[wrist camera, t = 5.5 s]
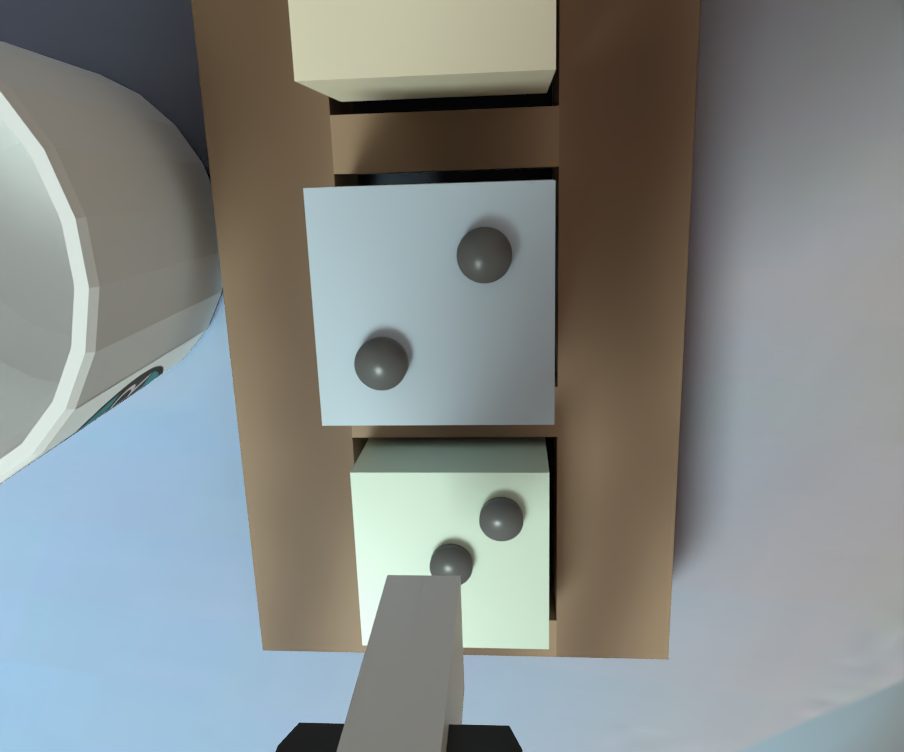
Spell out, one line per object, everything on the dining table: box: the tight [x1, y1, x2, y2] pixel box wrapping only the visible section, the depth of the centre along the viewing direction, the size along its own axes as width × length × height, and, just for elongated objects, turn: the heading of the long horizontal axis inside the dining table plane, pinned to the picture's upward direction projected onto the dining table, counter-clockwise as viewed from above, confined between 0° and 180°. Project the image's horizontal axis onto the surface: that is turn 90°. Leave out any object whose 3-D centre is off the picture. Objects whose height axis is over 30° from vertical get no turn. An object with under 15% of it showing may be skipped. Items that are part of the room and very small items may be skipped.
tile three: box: [350, 437, 549, 649], centre depth 21 cm, size 5×5×4 cm
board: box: [191, 0, 701, 659], centre depth 21 cm, size 12×22×3 cm, turn 2°
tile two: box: [303, 180, 555, 426], centre depth 17 cm, size 5×5×4 cm
